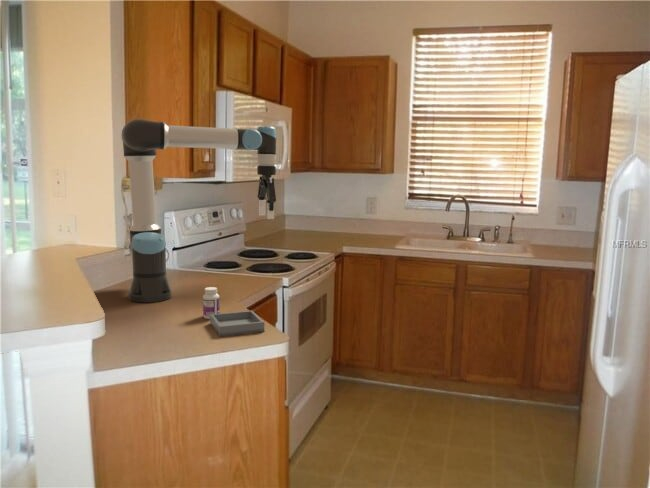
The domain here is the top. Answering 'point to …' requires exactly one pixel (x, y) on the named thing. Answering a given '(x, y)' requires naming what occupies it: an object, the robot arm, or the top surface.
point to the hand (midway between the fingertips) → (266, 217)
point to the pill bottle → (211, 302)
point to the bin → (236, 323)
